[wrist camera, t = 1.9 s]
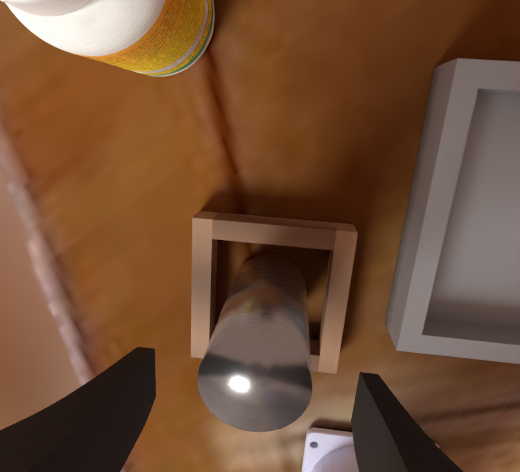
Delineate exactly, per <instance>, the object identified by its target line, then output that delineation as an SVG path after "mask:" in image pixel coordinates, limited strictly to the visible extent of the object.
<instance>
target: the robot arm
mask: <svg viewBox="0 0 520 472" xmlns="http://www.w3.org/2000/svg"><path fill="white" fill-rule="evenodd" d="M155 397H156V381H155V349H152V348H143V347H137V348H136V349H134V350H133V351H131V352H130V353H129V354H127V355H126V356H124V357H123V358H122V359H120V360H119V361H118V362H116V363H115V364H113V365H112V366H111V367H109V368H108V369H106V370H105V371H104V372H102V373H101V374H99V375H98V376H96V377H95V378H94V379H92V380H91V381H89V382H88V383H86V384H84V385H83V386H81V387H80V388H78V389H77V390H75V391H74V392H72V393H71V394H69V395H67V396H66V397H64V398H62V399H61V400H59V401H57V402H56V403H54V404H52V405H50V406H49V407H47V408H45V409H43V410H41V411H39V412H37V413H36V414H34V415H32V416H30V417H28V418H26V419H24V420H21V421H19V422H17V423H15V424H13V425H11V426H9V427H6V428H4V429H2V430H0V472H120V471H121V469H122V467H123V466H124V464H125V462H126V460H127V458H128V456H129V454H130V452H131V450H132V449H133V447H134V445H135V443H136V441H137V439H138V437H139V435H140V433H141V431H142V429H143V427H144V425H145V423H146V421H147V418H148V416H149V413H150V411H151V408H152V405H153V403H154V400H155ZM351 422H352V432H346V431H338V430H330V429H322V428H310V429H309V430H308V431H307V434H306V441H305V449H304V457H303V464H302V472H463V471H462V470H461V469H460V468H459V467H458V466H457V465H456V464H455V463H454V462H452V461H451V460H450V459H449V458H448V457H447V456H446V455H445V454H444V453H443V452H442V451H441V450H440V448H439V446H438V445H437V444H436V443H434V442H433V441H432V440H431V439H430V438H429V437H428V436H427V435H426V434H425V432H424V431H423V430H422V429H421V428H420V427H419V426H418V424H417V423H416V422H415V421H414V420H413V418H412V417H411V416H410V415H409V414H408V412H407V411H406V410H405V409H404V407H403V406H402V405H401V404H400V402H399V401H398V400H397V398H396V397H395V396H394V394H393V393H392V392H391V391H390V389H389V388H388V387H387V385H386V384H385V383H384V381H383V380H382V379H381V377H380V376H379V375H378V374H371V373H362V372H360V374H359V380H358V385H357V391H356V397H355V402H354V408H353V414H352V419H351ZM312 442H316V443H312Z"/></svg>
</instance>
